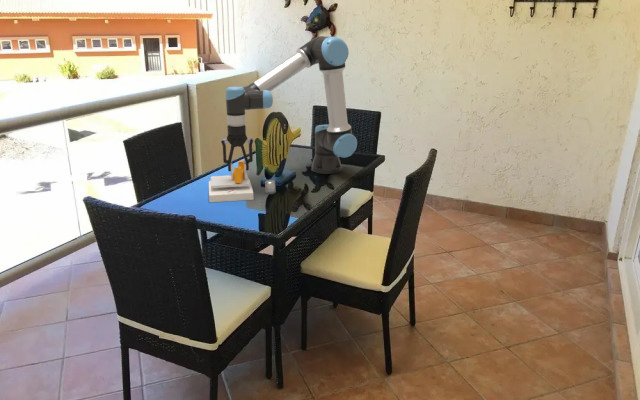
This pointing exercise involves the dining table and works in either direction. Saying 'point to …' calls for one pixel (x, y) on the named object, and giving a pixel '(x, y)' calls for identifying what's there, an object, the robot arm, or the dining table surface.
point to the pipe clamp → (239, 172)
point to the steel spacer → (270, 187)
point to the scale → (229, 189)
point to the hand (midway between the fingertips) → (238, 177)
